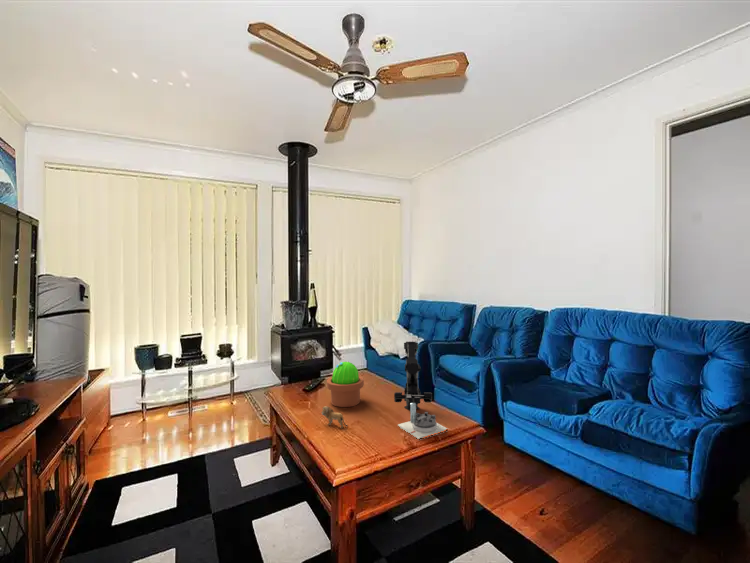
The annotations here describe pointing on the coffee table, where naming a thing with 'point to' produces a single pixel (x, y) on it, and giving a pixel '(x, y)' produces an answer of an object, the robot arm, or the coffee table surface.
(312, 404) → the coffee table surface
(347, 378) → the potted cactus
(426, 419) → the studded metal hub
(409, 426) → the mounting plate
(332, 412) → the lion figurine
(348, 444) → the coffee table surface
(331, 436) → the coffee table surface
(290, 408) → the coffee table surface
